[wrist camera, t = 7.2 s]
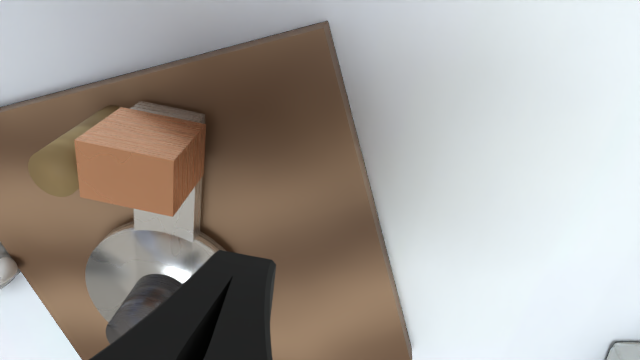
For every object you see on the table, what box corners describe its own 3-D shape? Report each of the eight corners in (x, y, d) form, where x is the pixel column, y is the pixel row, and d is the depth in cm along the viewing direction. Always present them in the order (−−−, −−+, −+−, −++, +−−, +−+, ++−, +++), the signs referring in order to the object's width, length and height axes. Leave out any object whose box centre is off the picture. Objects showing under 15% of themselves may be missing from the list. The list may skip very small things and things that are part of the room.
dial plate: (241, 354, 23) (217, 424, 20) (100, 323, 23) (54, 387, 20) (268, 127, 17) (240, 174, 14) (78, 88, 17) (8, 126, 14)
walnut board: (-52, 121, 20) (-178, 178, 16) (327, 20, 16) (304, 59, 12) (116, 375, 27) (61, 465, 23) (411, 348, 23) (416, 451, 19)
